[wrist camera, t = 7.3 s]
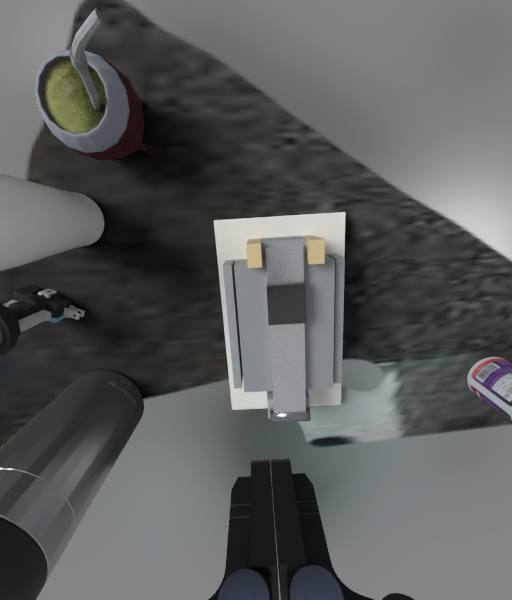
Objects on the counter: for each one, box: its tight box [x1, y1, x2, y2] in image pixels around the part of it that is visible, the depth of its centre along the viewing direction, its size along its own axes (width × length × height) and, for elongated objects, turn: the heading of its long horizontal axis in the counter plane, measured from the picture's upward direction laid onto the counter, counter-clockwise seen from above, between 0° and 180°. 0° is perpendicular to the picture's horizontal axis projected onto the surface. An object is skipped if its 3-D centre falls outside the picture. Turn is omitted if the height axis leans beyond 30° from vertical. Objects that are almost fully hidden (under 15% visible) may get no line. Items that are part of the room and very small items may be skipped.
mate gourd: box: [35, 8, 152, 161], centre depth 20 cm, size 8×8×15 cm
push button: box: [0, 285, 85, 357], centre depth 28 cm, size 7×5×10 cm
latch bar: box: [265, 245, 311, 423], centre depth 27 cm, size 18×4×2 cm, turn 3°
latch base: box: [214, 212, 346, 419], centre depth 29 cm, size 22×13×7 cm, turn 3°
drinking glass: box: [0, 173, 104, 271], centre depth 23 cm, size 7×7×15 cm
